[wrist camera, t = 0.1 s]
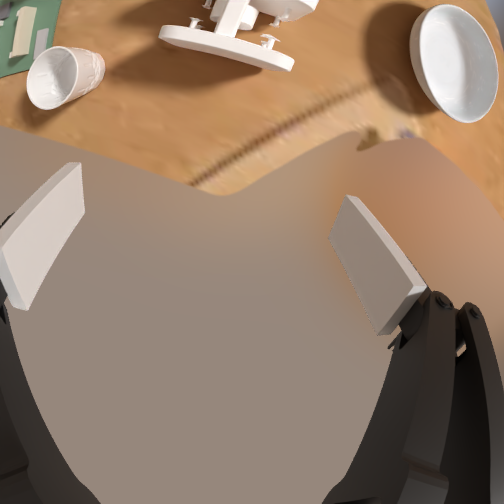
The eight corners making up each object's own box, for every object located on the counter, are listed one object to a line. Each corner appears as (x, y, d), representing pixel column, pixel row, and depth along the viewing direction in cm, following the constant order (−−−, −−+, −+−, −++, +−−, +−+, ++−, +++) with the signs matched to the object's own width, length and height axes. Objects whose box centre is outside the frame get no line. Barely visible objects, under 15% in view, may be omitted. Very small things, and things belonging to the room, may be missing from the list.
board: (7, -24, 8) (-1, -26, 6) (79, -52, 12) (72, -57, 9) (-14, 81, 21) (-23, 84, 19) (49, 65, 24) (40, 66, 22)
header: (-5, 24, 14) (-18, 25, 12) (37, 7, 17) (25, 6, 14) (-12, 66, 19) (-24, 70, 17) (28, 53, 22) (15, 55, 19)
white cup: (118, 56, 27) (89, 55, 19) (95, 104, 31) (62, 118, 23) (77, 41, 24) (41, 40, 16) (56, 88, 27) (19, 100, 20)
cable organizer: (166, 45, 28) (145, 37, 18) (192, -18, 22) (182, -47, 13) (272, 72, 32) (293, 74, 23) (297, 11, 26) (327, -7, 17)
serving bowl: (481, 45, 25) (505, 50, 20) (458, 129, 38) (482, 141, 32) (405, -16, 21) (431, -21, 15) (380, 82, 33) (405, 88, 28)
